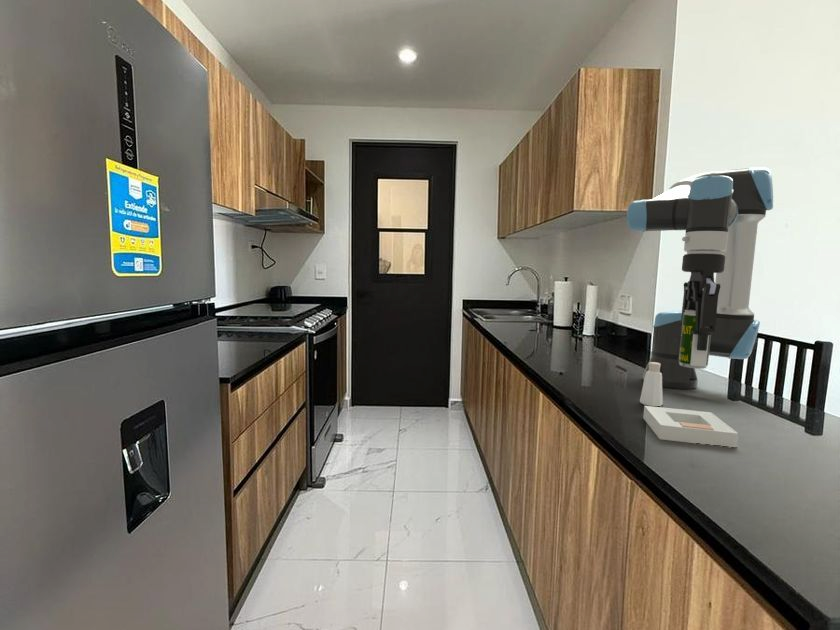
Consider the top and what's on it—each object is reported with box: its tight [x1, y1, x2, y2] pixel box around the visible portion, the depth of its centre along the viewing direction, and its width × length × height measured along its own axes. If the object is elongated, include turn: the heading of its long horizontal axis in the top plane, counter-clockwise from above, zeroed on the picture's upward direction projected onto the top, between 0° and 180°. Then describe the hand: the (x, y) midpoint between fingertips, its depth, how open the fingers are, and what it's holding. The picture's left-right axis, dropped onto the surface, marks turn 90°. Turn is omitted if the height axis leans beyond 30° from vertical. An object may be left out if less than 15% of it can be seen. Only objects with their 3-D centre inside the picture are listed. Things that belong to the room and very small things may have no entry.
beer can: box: [679, 309, 711, 370], centre depth 95 cm, size 5×5×12 cm
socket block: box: [642, 405, 739, 448], centre depth 97 cm, size 14×14×3 cm
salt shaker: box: [639, 361, 664, 407], centre depth 117 cm, size 5×5×11 cm
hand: (692, 362), depth 95 cm, fingers closed on beer can, 5 cm apart
